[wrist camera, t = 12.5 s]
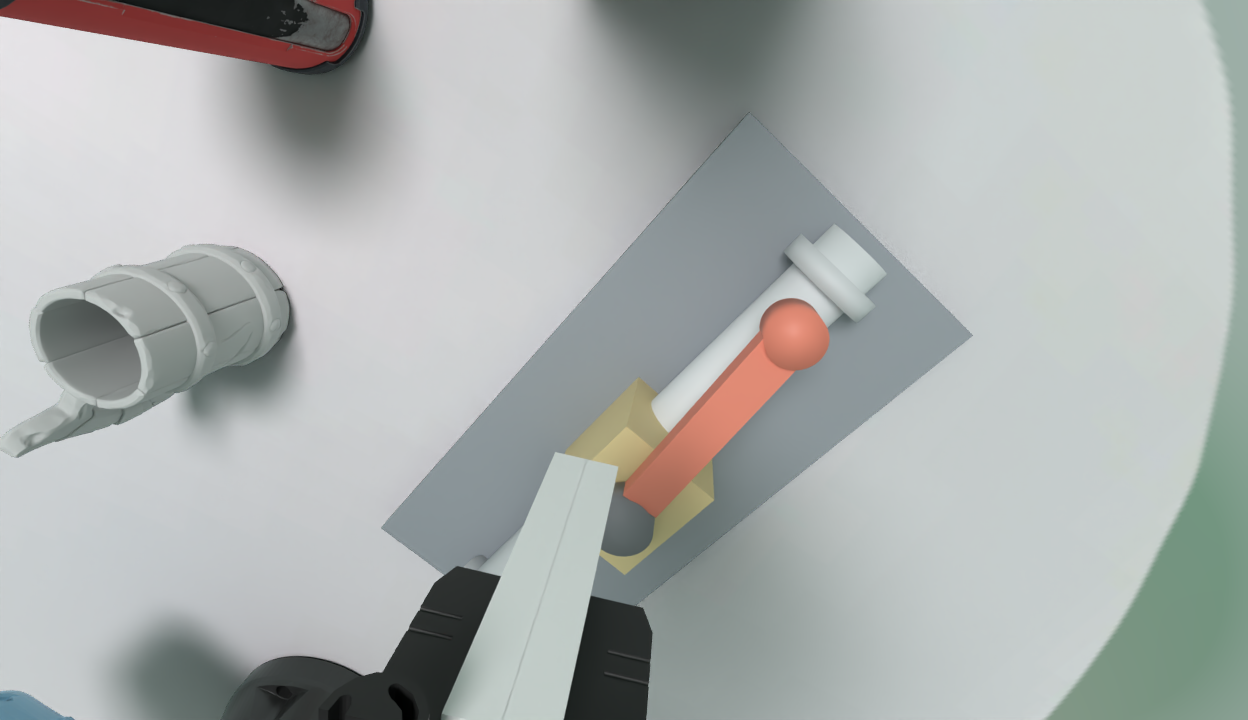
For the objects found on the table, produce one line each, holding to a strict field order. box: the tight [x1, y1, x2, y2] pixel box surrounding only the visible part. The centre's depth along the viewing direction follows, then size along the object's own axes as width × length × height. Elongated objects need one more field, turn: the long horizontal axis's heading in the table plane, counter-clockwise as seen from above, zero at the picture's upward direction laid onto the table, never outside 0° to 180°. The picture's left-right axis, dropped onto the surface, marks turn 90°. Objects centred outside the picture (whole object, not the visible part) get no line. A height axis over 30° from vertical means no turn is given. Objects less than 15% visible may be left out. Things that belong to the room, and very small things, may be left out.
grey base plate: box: [382, 112, 973, 606], centre depth 34 cm, size 36×17×8 cm, turn 139°
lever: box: [601, 298, 830, 557], centre depth 27 cm, size 15×3×2 cm, turn 144°
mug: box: [0, 244, 289, 458], centre depth 32 cm, size 8×12×12 cm, turn 139°
